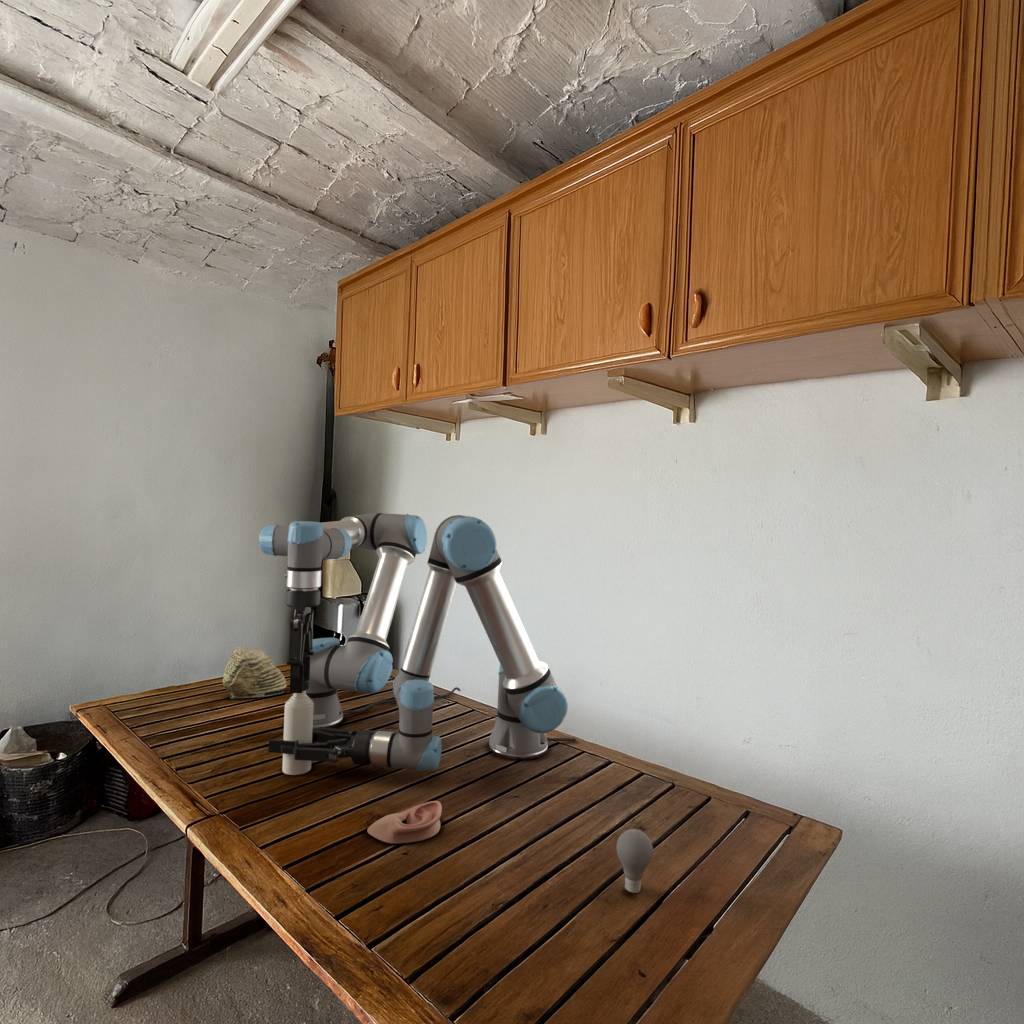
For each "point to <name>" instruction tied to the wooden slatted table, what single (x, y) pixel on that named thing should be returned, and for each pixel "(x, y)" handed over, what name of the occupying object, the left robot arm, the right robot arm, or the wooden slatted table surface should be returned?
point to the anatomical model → (408, 824)
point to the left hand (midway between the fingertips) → (299, 687)
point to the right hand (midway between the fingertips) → (276, 739)
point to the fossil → (252, 674)
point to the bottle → (297, 730)
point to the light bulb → (634, 857)
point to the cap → (305, 684)
